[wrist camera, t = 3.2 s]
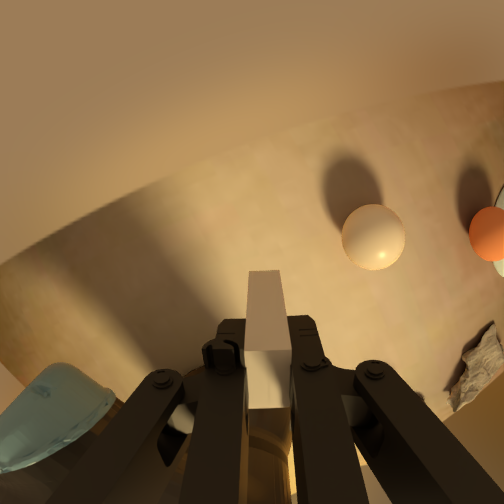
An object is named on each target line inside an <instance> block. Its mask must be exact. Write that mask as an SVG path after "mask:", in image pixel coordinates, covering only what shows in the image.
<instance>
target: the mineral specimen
mask: <svg viewBox="0 0 504 504" xmlns="http://www.w3.org/2000/svg"><path fill="white" fill-rule="evenodd" d="M496 331H497V330H496V325H495V323H494V324H492V325H491V327H490V328H489V330H488V331H486V332H485V334H484V335H483V337H482V339H481V342H480V343H479V344H478V346H477V347H476V348H473V349H472V350H468V351H467V352H466V353H465V354H463V355H462V360H463V361H465V362H466V364H467V366H466V369H465V372H464V373H463V375H462V376H461V377H460V381H459V382H458V383H457V384H456V385H454V386H453V387H452V388H451V393H450V397H449V398H448V399H447V402H446V404H450V405H451V407H452V408H453V412H456V411H458V410H459V409H460V408H461V407H463V406H464V405H465V404H467V403H469V402H471V401H472V400H473V399H474V398H475V397H476V396H477V395H478V394H479V392H480V391H481V390H482V388H483V387H484V386H485V384H487V383H488V382H490V379H491V377H492V376H493V375H494V374H495V373H496V372H497V370H498V369H499V367H500V366H501V365H502V364H503V363H504V354H503V352H504V349H503V346H502V345H501V344H499V342H498V340H497V338H496Z"/></svg>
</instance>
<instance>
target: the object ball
mask: <svg viewBox="0 0 504 504" xmlns="http://www.w3.org/2000/svg"><path fill="white" fill-rule="evenodd" d="M469 238H470V243H471V245H472V248H473V249H474V251H475V252H476V253H477V255H479V256H480V257H481V258H483V259H485V260H487V261H499V260H502V259H504V210H503V209H501V208H498V207H492V206H491V207H486V208H483V209H481V210H480V211H479V212H478V213H477V214H476V215H475V216H474V217H473V219H472V221H471V224H470V228H469Z"/></svg>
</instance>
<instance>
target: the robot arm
mask: <svg viewBox="0 0 504 504" xmlns="http://www.w3.org/2000/svg"><path fill="white" fill-rule="evenodd" d="M202 354H203V360H204V366H203V367H200V368H197V369H195V370H193V371H191V372H190V373H188V374H187V375H185V376H184V377H183V378H182V377H181V375H180V374H179V373H178V372H177V371H174V370H171V369H161V370H156V371H154V372H151V373H150V374H149V375H147V376H146V377H145V378H144V380H143V381H142V382H141V383H140V385H139V386H138V387H137V388H136V390H135V391H134V392H133V393H132V395H131V396H130V397H129V398H128V400H127V401H126V402H125V403H124V402H122V401H121V400H120V399H118V398H117V397H116V395H115V393H114V392H113V391H112V390H111V389H109V388H105V387H102V386H101V385H100V384H98V383H97V382H95V381H94V380H93V379H91V378H90V377H89V376H87V375H86V374H84V373H83V372H82V371H80V370H79V369H78V368H76V367H75V366H73V365H71V364H68V363H63V362H58V363H54V364H51V365H49V366H48V367H47V368H45V369H44V370H43V371H42V372H41V373H40V374H39V375H38V376H37V377H36V378H35V379H34V380H33V381H32V382H31V383H30V384H29V385H28V386H27V387H26V388H25V389H24V390H23V391H22V393H21V394H20V395H19V396H18V397H17V398H16V399H15V400H14V401H13V402H12V403H11V404H10V405H9V406H8V407H7V408H6V410H5V411H4V412H3V413H2V414H1V415H0V504H292V502H291V491H290V481H289V470H288V454H289V451H290V447H291V443H293V454H294V465H295V477H296V489H297V501H298V504H369V501H368V496H367V492H366V488H365V484H364V480H363V476H362V472H361V468H360V464H359V460H358V456H357V452H356V448H355V444H356V446H357V448H358V449H359V451H360V453H361V454H362V456H363V457H364V459H365V461H366V462H367V464H368V465H369V467H370V469H371V470H372V472H373V473H374V475H375V477H376V478H377V480H378V482H379V483H380V485H381V486H382V488H383V489H384V491H385V492H386V494H387V496H388V498H389V499H390V501H391V502H392V504H504V492H503V491H502V490H501V489H500V488H499V486H498V485H497V484H496V483H495V482H494V481H493V480H492V478H491V477H490V476H489V475H488V474H487V472H485V470H484V469H483V468H482V467H481V466H480V464H479V463H478V462H477V461H476V460H475V459H474V458H473V456H472V455H471V454H470V453H469V452H468V451H467V450H466V449H465V447H464V446H463V445H462V444H461V443H460V442H459V441H458V439H457V438H456V437H455V436H454V435H453V434H452V433H451V432H450V431H449V429H448V428H447V427H446V426H445V425H444V424H443V423H442V422H441V421H440V419H439V418H438V417H437V416H436V415H435V414H434V413H433V412H432V411H431V409H430V408H429V407H428V406H427V405H426V404H425V403H424V402H423V401H422V400H421V398H420V397H419V396H418V395H417V394H416V393H415V392H414V391H413V390H412V389H411V388H410V386H409V385H408V384H407V383H406V382H405V381H404V380H403V379H402V378H401V377H400V376H399V375H398V373H397V372H396V371H395V370H394V369H393V368H392V367H391V366H390V365H388V364H387V363H385V362H382V361H379V360H368V361H364V362H362V363H360V364H359V365H358V366H357V367H356V370H349V369H342V368H338V367H336V366H333V365H332V363H331V362H330V360H329V359H328V358H327V357H325V355H324V351H323V348H322V344H321V341H320V337H319V334H318V331H317V327H316V324H315V321H314V320H313V319H312V318H311V317H310V316H309V315H299V316H287V315H286V309H285V302H284V296H283V290H282V284H281V278H280V272H279V270H272V271H249V280H248V296H247V312H246V319H224V320H223V321H222V322H221V323H220V324H219V325H218V329H217V334H216V339H213V340H210V341H209V342H207V343H206V344H204V346H203V348H202ZM354 443H355V444H354Z"/></svg>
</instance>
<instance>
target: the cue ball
mask: <svg viewBox="0 0 504 504" xmlns="http://www.w3.org/2000/svg"><path fill="white" fill-rule="evenodd" d="M342 244H343V248H344V251H345V253H346V254H347V256H348V257H349V259H350V260H351V261H352V262H353V263H355V264H356V265H358V266H359V267H361V268H364V269H368V270H379V269H383V268H386V267H388V266H390V265H391V264H393V263H394V262H395V261H396V260H397V259H398V258H399V256H400V255H401V253H402V251H403V248H404V244H405V230H404V227H403V224H402V222H401V220H400V218H399V217H398V216H397V214H396V213H394V212H393V211H392V210H391V209H389V208H387V207H385V206H382V205H378V204H368V205H364V206H361V207H359V208H357V209H356V210H354V211H353V212H352V213H351V214H350V215H349V216H348V218H347V219H346V221H345V223H344V226H343V229H342Z"/></svg>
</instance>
